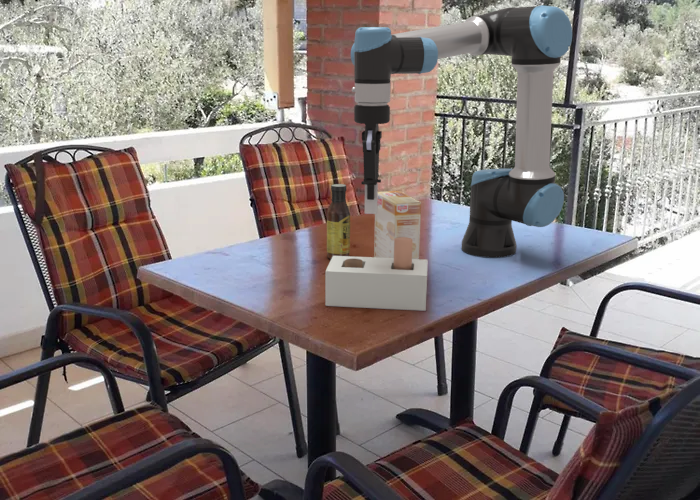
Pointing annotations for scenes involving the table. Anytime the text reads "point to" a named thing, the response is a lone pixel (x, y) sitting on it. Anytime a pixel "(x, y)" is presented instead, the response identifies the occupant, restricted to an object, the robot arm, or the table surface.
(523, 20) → the robot arm
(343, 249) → the sauce bottle
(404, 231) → the coffeecake box
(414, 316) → the table surface
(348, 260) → the peg
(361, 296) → the block
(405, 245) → the peg
